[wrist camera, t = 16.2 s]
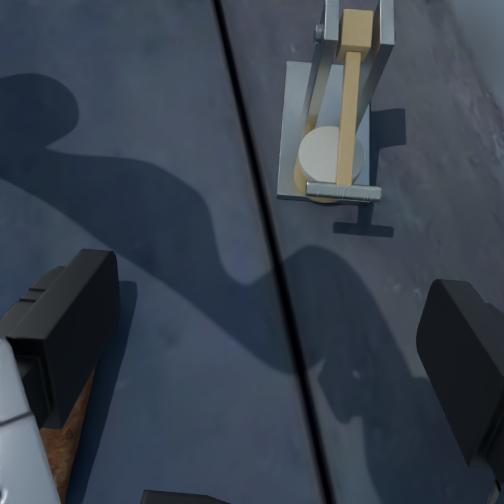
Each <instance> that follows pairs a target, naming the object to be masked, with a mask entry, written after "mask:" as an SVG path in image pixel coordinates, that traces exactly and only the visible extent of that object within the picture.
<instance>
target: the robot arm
mask: <svg viewBox="0 0 504 504" xmlns="http://www.w3.org/2000/svg"><path fill="white" fill-rule="evenodd" d="M119 315H120V292H119V280H118V268H117V258H116V255H115V253H114V252H113V251H105V250H93V249H82V250H81V251H80V252H79V253H78V254H77V255H76V256H75V257H74V258H73V260H72V261H71V262H70V263H69V264H68V265H67V266H66V267H65V266H59V267H57V268H55V269H53V270H51V271H49V272H47V273H46V274H44V275H42V276H40V278H39V279H38V280H37V281H36V282H35V283H34V284H33V285H32V286H31V287H30V288H29V291H26V292H25V293H24V294H23V295H22V297H21V298H20V300H19V301H17V302H16V303H15V304H14V305H13V306H12V307H11V308H10V309H9V310H8V311H7V312H6V313H5V314H4V316H3V317H2V318H1V319H0V504H61V501H60V498H59V495H58V491H57V488H56V485H55V482H54V478H53V475H52V472H51V469H50V465H49V462H48V459H47V455H46V452H45V449H44V446H43V442H42V439H41V436H40V433H39V431H40V430H41V428H47V429H59V430H62V428H63V426H64V424H65V423H66V421H67V419H68V417H69V415H70V413H71V411H72V409H73V408H74V406H75V404H76V402H77V400H78V398H79V396H80V394H81V393H82V391H83V389H84V387H85V385H86V383H87V381H88V379H89V377H90V376H91V374H92V372H93V370H94V368H95V366H96V364H97V362H98V361H99V359H100V357H101V355H102V353H103V351H104V349H105V347H106V345H107V344H108V342H109V340H110V338H111V336H112V334H113V332H114V330H115V329H116V326H117V324H118V320H119ZM416 346H417V351H418V354H419V357H420V359H421V361H422V364H423V366H424V368H425V370H426V373H427V375H428V377H429V380H430V382H431V384H432V386H433V389H434V391H435V393H436V395H437V398H438V400H439V402H440V404H441V407H442V409H443V411H444V413H445V416H446V418H447V420H448V422H449V425H450V427H451V429H452V432H453V434H454V436H455V438H456V441H457V443H458V445H459V447H460V450H461V452H462V454H463V456H464V459H465V461H466V463H467V465H468V467H473V468H484V469H492V471H493V473H494V475H495V477H496V478H495V480H494V482H493V484H492V486H491V488H490V490H489V493H488V496H487V498H486V501H485V504H504V313H502V312H501V311H499V310H498V309H497V308H495V307H494V306H492V305H491V304H490V303H485V302H484V301H483V299H482V298H481V297H480V295H479V294H478V293H477V292H476V290H475V289H474V288H473V286H472V285H471V284H470V283H469V282H465V281H454V280H442V279H436V280H434V281H433V283H432V284H431V287H430V290H429V293H428V296H427V299H426V303H425V306H424V309H423V313H422V316H421V319H420V323H419V326H418V329H417V335H416ZM140 504H230V503H227V502H224V501H221V500H219V499H216V498H213V497H210V496H207V495H198V494H187V493H176V492H164V491H153V490H144V492H143V496H142V499H141V503H140Z"/></svg>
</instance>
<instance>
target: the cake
mask: <svg viewBox="0 0 504 504" xmlns="http://www.w3.org/2000/svg"><path fill="white" fill-rule="evenodd" d="M338 135H339V127H336V126H323V127H319V128H316V129H314V130H312V131H311V132H309V133H308V134H307V135H306V136H305V137H304V139H303V140H302V142H301V144H300V147H299V151H298V156H297V160H296V165H295V169H294V179H295V182H296V185H297V187H298V188H299V190H300V191H301V192H302V193H303V194H304V195H305V186H306V181H307V180H311V181H323V182H335V175H336V162H337V148H338ZM364 162H365V153H364V149H363V146H362V144H361V142H360V141H359V139H358V138H357V137H356V136H355V145H354V159H353V173H352V184H354V183H355V181H356V180H357V178H358V176H359V174H360V172H361V170H362V168H363V166H364ZM306 197H308V196H306ZM308 198H310V199H311V200H314V201H317V202H322V203H330V202H335V201H338V200H340V199H332V198H320V197H308Z"/></svg>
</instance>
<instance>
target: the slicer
mask: <svg viewBox="0 0 504 504" xmlns="http://www.w3.org/2000/svg"><path fill="white" fill-rule="evenodd" d="M338 34H339V0H325V1H324V6H323V11H322V16H321V21H320V24H318V23H317V24H316V25H315V31H314V41H313V42H314V44H316V45H315V50H314V55H313V60H312V63H307V62H294V61H287V64H286V75H285V89H284V103H283V117H282V130H281V144H280V158H279V172H278V185H277V199H288V200H300V201H312V202H317V201H314V200H311V199H310V198H308V197H306V196H305V195H304V194H303V193H302V192H301V191H300V190H299V188H298V187H297V185H296V182H295V179H294V169H295V165H296V160H297V156H298V151H299V147H300V144H301V142H302V140H303V139H304V137H305V136H306V135H307V134H308V133H309V132H311V131H312V130H314V129H316V128H319V127H323V126H336V127H339V121H340V108H341V94H342V81H343V67H344V65H332V62H333V58H334V54H335V51H336V47H337V43H338ZM395 38H396V31H395V30H394V0H379V2H378V5H377V7H376V10H375V13H374V16H373V25H372V40H371V48H370V50H369V52H368V54H367V56H366V58H365V60H364V62H363V63H360V75H359V89H358V103H357V117H356V131H355V136H356V137H357V138H358V139H359V141H360V142H361V144H362V146H363V149H364V153H365V162H364V166H363V168H362V170H361V172H360V174H359V176H358V178H357V180H356V181H355V183H354V184H359V185H369V135H370V100H371V98H372V95H373V93H374V91H375V88H376V86H377V84H378V82H379V79H380V77H381V75H382V72H383V70H384V68H385V65H386V63H387V61H388V58H389V56H390V54H391V51H392V49H393V47H394V43H395ZM330 203H336V204H348V205H360V206H367V205H368V203H369V202H368V201H356V200H344V199H340V200H338V201H335V202H330Z"/></svg>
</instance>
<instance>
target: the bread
mask: <svg viewBox="0 0 504 504" xmlns="http://www.w3.org/2000/svg"><path fill="white" fill-rule="evenodd" d="M95 368H96V366H95ZM95 368H94V370H93V372H92V374H91V376H90V377H89V379H88V381H87V383H86V385H85V387H84V389H83V391H82V393H81V394H80V396H79V398H78V400H77V402H76V404H75V406H74V408H73V409H72V411H71V413H70V415H69V417H68V419H67V421H66V423H65V424H64V426H63V428H62V430H59V429H47V428H41V430H40V431H39V433H40V436H41V439H42V442H43V446H44V449H45V452H46V455H47V459H48V462H49V465H50V469H51V472H52V475H53V478H54V482H55V485H56V488H57V491H58V495H59V498H60V501H61V504H65V499H66V493H67V488H68V483H69V478H70V474H71V470H72V466H73V462H74V458H75V454H76V451H77V449H78V444H79V440H80V435H81V431H82V426H83V421H84V417H85V413H86V408H87V404H88V400H89V396H90V392H91V387H92V381H93V376H94V372H95Z"/></svg>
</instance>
